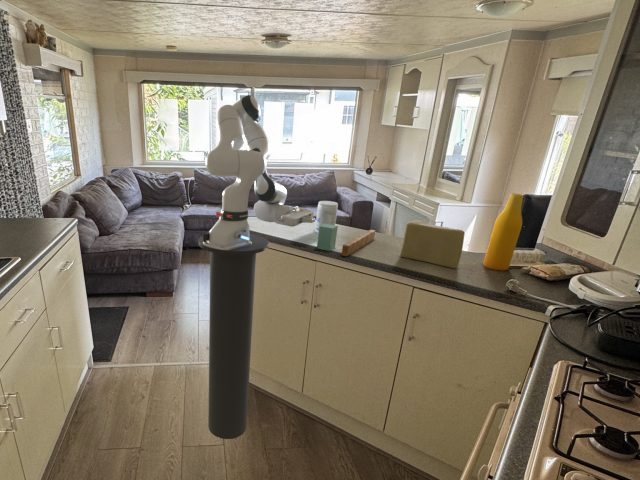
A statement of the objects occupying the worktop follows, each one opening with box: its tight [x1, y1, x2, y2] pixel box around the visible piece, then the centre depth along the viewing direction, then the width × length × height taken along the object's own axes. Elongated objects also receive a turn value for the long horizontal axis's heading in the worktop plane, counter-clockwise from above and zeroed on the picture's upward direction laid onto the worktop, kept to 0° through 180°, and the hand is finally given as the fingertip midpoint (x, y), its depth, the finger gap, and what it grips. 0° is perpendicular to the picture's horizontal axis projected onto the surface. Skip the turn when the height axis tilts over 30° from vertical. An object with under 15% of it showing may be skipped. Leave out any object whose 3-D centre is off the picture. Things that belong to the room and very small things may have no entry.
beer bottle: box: [483, 193, 524, 272], centre depth 167 cm, size 9×9×29 cm
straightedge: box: [341, 229, 376, 257], centre depth 191 cm, size 34×2×4 cm, turn 145°
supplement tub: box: [314, 200, 339, 234], centre depth 210 cm, size 10×10×15 cm
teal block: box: [316, 224, 339, 252], centre depth 186 cm, size 6×6×10 cm
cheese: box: [400, 219, 466, 269], centre depth 174 cm, size 22×10×15 cm, turn 44°
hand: (313, 220), depth 188 cm, fingers closed
